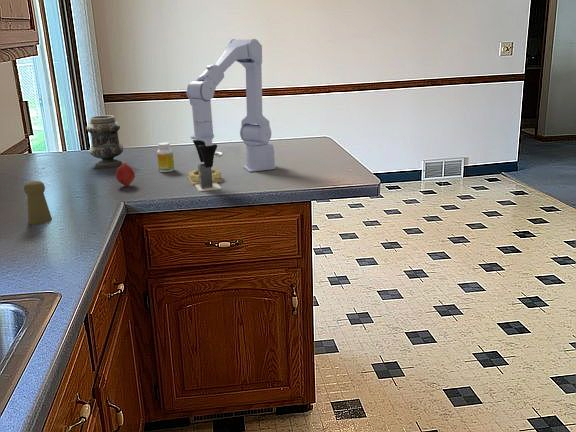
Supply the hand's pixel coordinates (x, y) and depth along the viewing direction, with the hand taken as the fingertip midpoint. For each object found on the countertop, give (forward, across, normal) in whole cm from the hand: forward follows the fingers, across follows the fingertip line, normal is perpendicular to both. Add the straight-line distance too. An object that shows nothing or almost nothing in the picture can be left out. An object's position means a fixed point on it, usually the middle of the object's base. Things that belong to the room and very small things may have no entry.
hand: (206, 164), depth 186 cm
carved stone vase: (+8, -47, -28) cm, 56 cm away
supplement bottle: (+8, -28, -9) cm, 31 cm away
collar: (+8, -9, +1) cm, 12 cm away
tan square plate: (+8, -9, +1) cm, 12 cm away
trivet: (+8, 0, 0) cm, 8 cm away
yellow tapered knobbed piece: (+7, +13, -49) cm, 51 cm away
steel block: (+7, 0, -1) cm, 7 cm away
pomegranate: (+8, -13, -24) cm, 29 cm away
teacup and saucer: (+8, -49, +13) cm, 51 cm away
